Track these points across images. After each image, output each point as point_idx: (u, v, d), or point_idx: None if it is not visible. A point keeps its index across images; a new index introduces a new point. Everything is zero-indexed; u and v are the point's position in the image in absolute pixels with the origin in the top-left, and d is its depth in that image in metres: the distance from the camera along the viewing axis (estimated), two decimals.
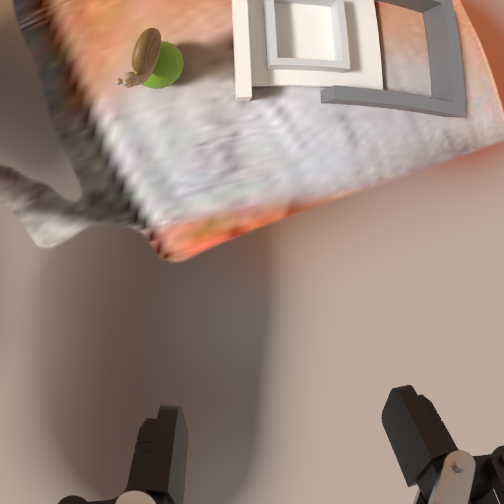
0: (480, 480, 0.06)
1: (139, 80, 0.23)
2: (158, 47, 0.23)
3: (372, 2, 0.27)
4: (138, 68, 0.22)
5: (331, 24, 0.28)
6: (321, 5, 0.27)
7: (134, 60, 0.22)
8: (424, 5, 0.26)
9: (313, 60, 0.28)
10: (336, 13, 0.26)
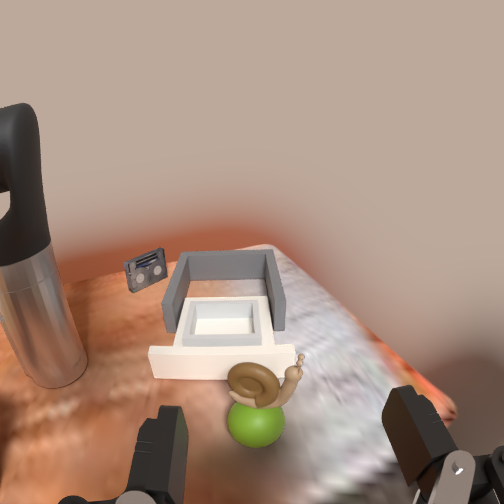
0: (480, 480, 0.06)
1: None
2: None
3: (189, 298, 0.50)
4: (277, 379, 0.24)
5: (214, 318, 0.45)
6: (196, 322, 0.44)
7: (269, 375, 0.23)
8: (188, 271, 0.56)
9: (254, 315, 0.41)
10: (207, 307, 0.44)
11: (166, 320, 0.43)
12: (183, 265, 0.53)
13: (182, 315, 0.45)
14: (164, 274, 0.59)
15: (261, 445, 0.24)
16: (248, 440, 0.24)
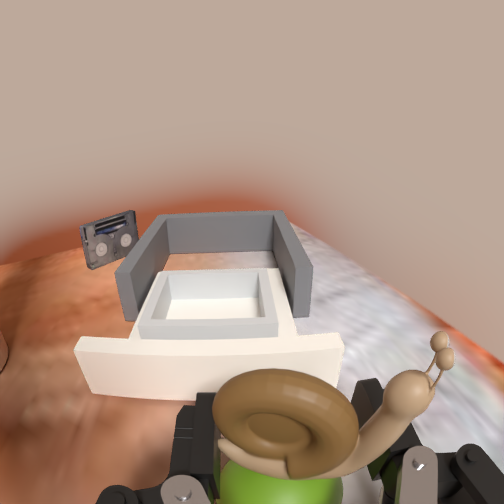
0: (444, 478, 0.06)
1: None
2: None
3: None
4: (355, 412, 0.08)
5: (198, 299, 0.28)
6: (169, 304, 0.27)
7: (338, 405, 0.07)
8: (166, 239, 0.40)
9: (263, 289, 0.25)
10: (187, 280, 0.28)
11: (124, 301, 0.27)
12: (158, 228, 0.37)
13: (150, 295, 0.29)
14: None
15: None
16: None
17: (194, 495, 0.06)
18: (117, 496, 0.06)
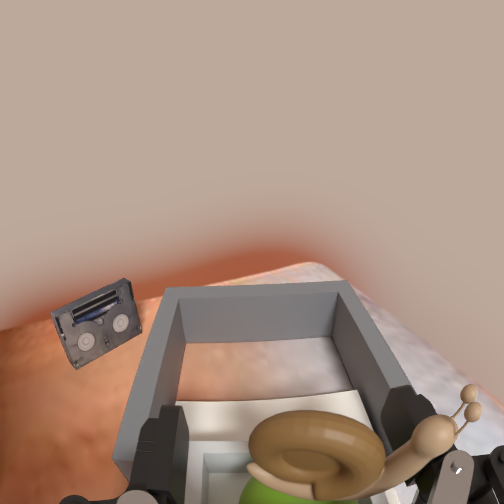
0: (479, 480, 0.06)
1: None
2: None
3: (186, 403, 0.20)
4: None
5: None
6: (208, 486, 0.14)
7: (372, 445, 0.07)
8: (180, 329, 0.26)
9: None
10: (236, 458, 0.14)
11: None
12: (168, 324, 0.23)
13: None
14: (135, 328, 0.29)
15: None
16: None
17: None
18: None
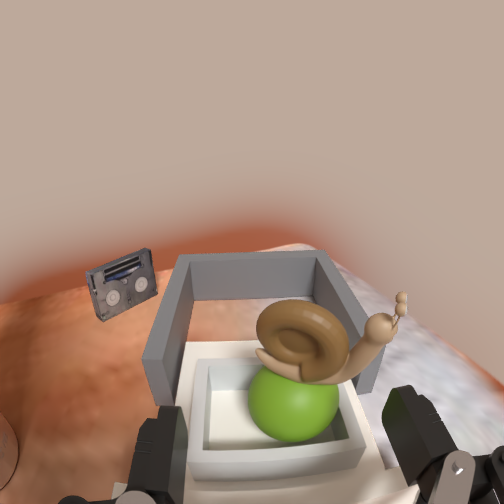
0: (480, 480, 0.06)
1: None
2: None
3: (194, 343, 0.27)
4: (347, 336, 0.13)
5: (246, 390, 0.22)
6: (211, 399, 0.20)
7: (335, 327, 0.13)
8: (190, 286, 0.34)
9: None
10: (233, 371, 0.21)
11: (154, 387, 0.21)
12: (182, 277, 0.31)
13: (182, 382, 0.22)
14: (152, 290, 0.37)
15: (298, 441, 0.15)
16: (279, 434, 0.15)
17: None
18: None
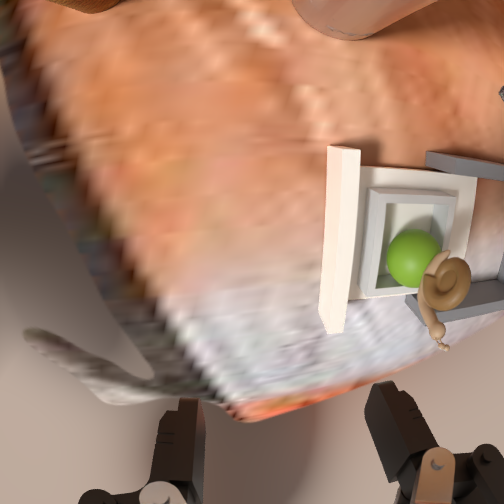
0: (461, 478, 0.06)
1: None
2: None
3: (475, 184, 0.27)
4: (441, 310, 0.21)
5: (431, 222, 0.28)
6: None
7: (447, 308, 0.20)
8: None
9: None
10: (443, 220, 0.26)
11: (438, 157, 0.25)
12: None
13: (443, 175, 0.26)
14: None
15: (388, 257, 0.27)
16: (396, 249, 0.25)
17: (172, 502, 0.06)
18: (95, 500, 0.06)
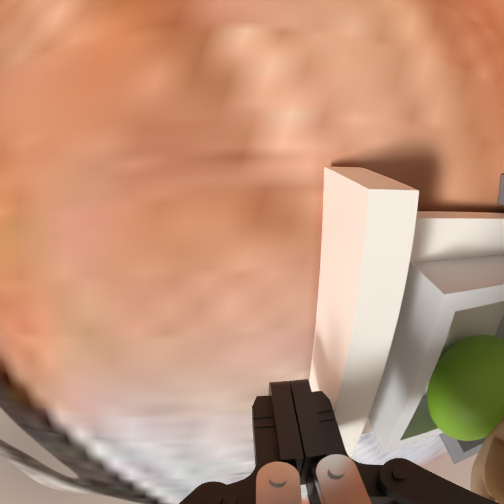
0: None
1: None
2: None
3: None
4: None
5: None
6: None
7: None
8: None
9: None
10: None
11: None
12: None
13: None
14: None
15: (432, 395, 0.12)
16: (452, 390, 0.10)
17: (291, 480, 0.07)
18: (215, 494, 0.06)
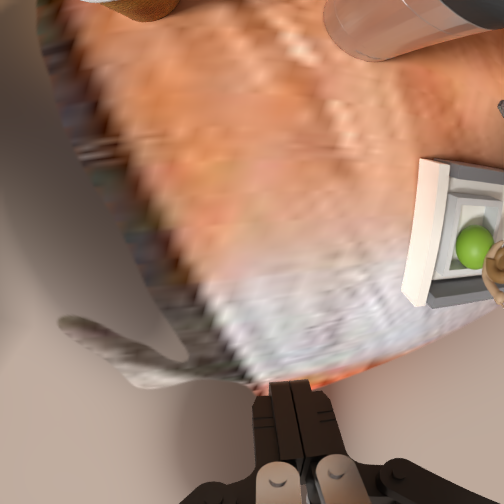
0: None
1: None
2: None
3: None
4: (500, 283, 0.26)
5: (483, 220, 0.33)
6: None
7: None
8: None
9: (469, 269, 0.32)
10: (493, 219, 0.30)
11: None
12: None
13: (492, 184, 0.31)
14: None
15: (458, 246, 0.31)
16: (465, 240, 0.30)
17: (291, 480, 0.07)
18: (215, 494, 0.06)
